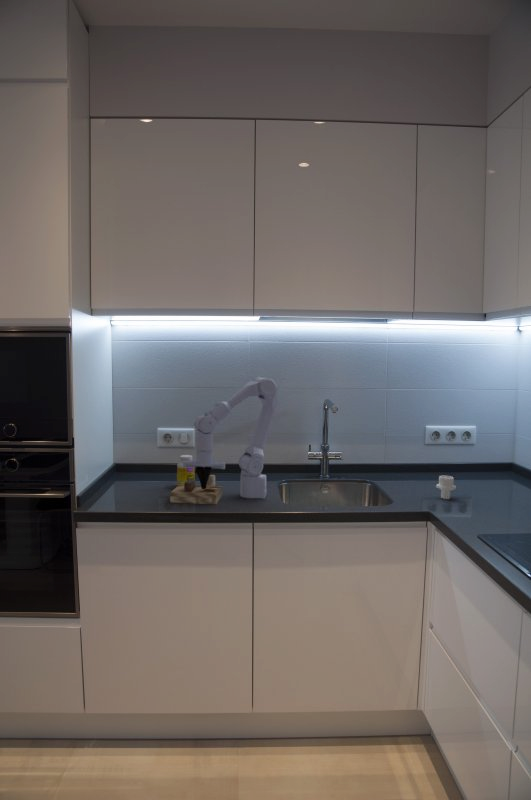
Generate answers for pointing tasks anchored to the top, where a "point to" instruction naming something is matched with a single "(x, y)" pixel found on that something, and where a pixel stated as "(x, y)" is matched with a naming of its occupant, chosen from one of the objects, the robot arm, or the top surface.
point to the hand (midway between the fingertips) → (203, 488)
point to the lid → (195, 488)
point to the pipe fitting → (446, 486)
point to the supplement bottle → (184, 470)
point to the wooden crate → (195, 497)
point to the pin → (211, 480)
